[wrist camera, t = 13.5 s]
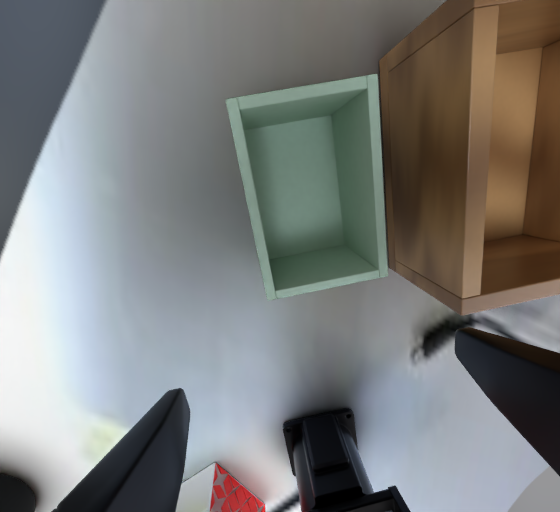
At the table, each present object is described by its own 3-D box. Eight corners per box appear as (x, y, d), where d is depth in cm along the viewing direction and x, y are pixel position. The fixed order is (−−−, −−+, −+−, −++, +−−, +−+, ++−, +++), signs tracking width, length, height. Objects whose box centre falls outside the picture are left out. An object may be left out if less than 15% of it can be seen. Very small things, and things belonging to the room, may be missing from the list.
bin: (348, 247, 20) (388, 276, 14) (262, 264, 20) (267, 301, 14) (335, 107, 17) (378, 73, 11) (233, 124, 17) (225, 98, 11)
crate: (520, 241, 21) (655, 274, 14) (388, 268, 21) (461, 316, 14) (542, 33, 17) (751, -68, 10) (378, 60, 17) (475, -27, 9)
